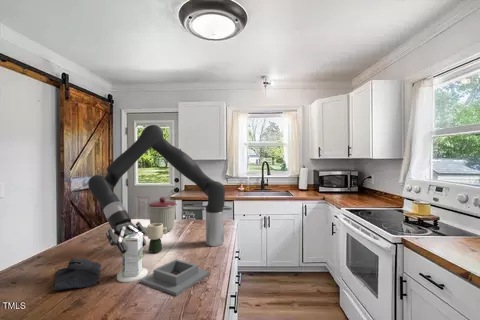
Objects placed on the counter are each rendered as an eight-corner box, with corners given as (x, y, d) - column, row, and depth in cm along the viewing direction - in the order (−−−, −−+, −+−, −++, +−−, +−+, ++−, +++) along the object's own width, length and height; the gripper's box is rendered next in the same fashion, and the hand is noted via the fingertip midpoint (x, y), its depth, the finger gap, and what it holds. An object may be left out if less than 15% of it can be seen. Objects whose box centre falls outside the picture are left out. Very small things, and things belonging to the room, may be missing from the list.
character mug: (166, 247, 127) (166, 222, 127) (167, 252, 120) (167, 225, 120) (143, 250, 123) (143, 224, 123) (143, 255, 116) (143, 227, 116)
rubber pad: (135, 267, 104) (135, 265, 104) (154, 273, 98) (154, 271, 98) (110, 278, 94) (110, 275, 94) (129, 285, 89) (129, 283, 89)
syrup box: (128, 269, 99) (127, 233, 99) (143, 269, 99) (143, 233, 99) (122, 276, 93) (121, 238, 93) (138, 276, 94) (138, 238, 94)
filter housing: (176, 264, 106) (176, 255, 106) (210, 274, 97) (210, 264, 97) (140, 282, 91) (140, 271, 91) (176, 295, 82) (176, 283, 82)
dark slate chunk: (44, 297, 82) (44, 283, 82) (59, 270, 101) (59, 259, 101) (98, 287, 88) (98, 273, 88) (101, 264, 108) (101, 253, 108)
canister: (155, 226, 168) (155, 195, 168) (181, 227, 165) (181, 195, 165) (141, 234, 150) (141, 199, 150) (170, 235, 147) (170, 199, 147)
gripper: (103, 212, 94) (122, 248, 88) (136, 206, 106) (154, 237, 100) (95, 225, 97) (113, 260, 91) (128, 217, 109) (146, 248, 103)
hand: (135, 248), depth 96 cm, fingers open, 8 cm apart
